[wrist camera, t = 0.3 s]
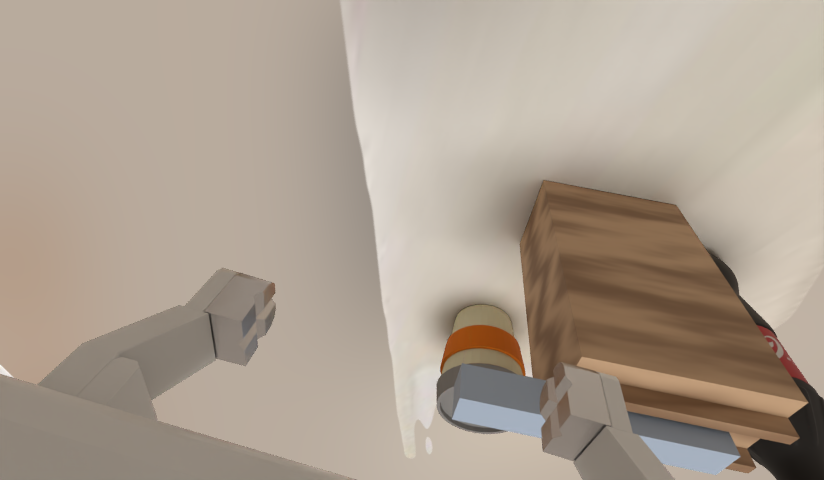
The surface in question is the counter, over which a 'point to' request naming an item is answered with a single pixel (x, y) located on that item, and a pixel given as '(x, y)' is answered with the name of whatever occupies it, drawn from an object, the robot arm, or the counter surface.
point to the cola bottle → (814, 423)
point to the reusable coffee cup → (477, 355)
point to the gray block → (520, 413)
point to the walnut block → (649, 316)
